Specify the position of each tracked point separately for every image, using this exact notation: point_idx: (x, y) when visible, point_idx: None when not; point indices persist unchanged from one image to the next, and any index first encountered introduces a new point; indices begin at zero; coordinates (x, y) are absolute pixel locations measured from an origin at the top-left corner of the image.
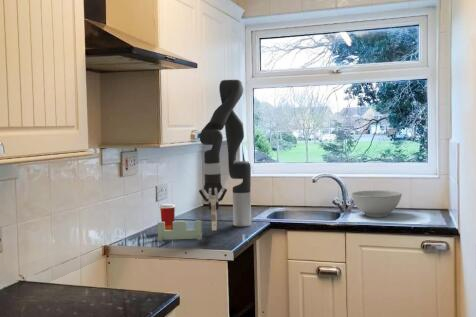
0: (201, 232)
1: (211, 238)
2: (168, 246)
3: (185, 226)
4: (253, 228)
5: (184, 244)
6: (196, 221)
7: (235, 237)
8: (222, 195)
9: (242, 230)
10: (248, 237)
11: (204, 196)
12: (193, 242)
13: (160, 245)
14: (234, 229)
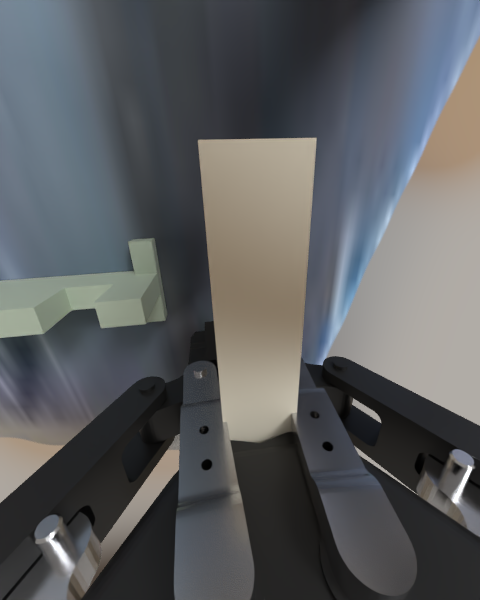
0: (157, 292)
1: (208, 291)
2: (62, 409)
3: (56, 319)
4: (433, 44)
5: (116, 383)
6: (116, 326)
7: (309, 279)
8: (380, 454)
9: (363, 104)
10: (358, 283)
11: (131, 489)
12: (144, 355)
13: (20, 397)
14: (323, 56)
